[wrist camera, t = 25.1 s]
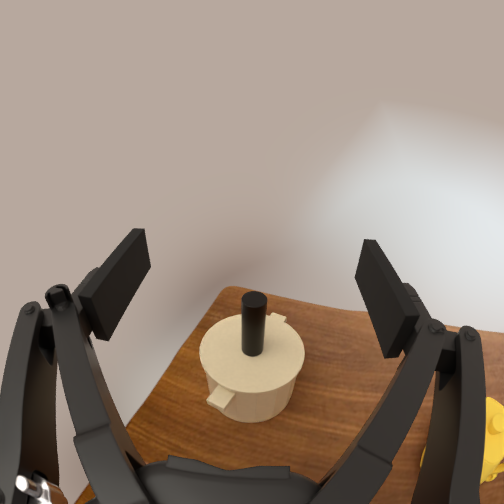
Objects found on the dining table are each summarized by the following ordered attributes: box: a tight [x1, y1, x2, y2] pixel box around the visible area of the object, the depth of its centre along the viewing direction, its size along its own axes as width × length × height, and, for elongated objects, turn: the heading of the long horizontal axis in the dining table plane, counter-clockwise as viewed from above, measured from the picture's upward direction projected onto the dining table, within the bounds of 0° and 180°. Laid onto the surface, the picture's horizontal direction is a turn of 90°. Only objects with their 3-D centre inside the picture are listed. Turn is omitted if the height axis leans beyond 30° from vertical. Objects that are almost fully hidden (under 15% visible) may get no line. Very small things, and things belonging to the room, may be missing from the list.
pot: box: [206, 312, 296, 423], centre depth 37 cm, size 13×18×10 cm
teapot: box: [420, 397, 504, 484], centre depth 22 cm, size 14×20×13 cm
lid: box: [200, 291, 305, 395], centre depth 33 cm, size 14×14×10 cm
